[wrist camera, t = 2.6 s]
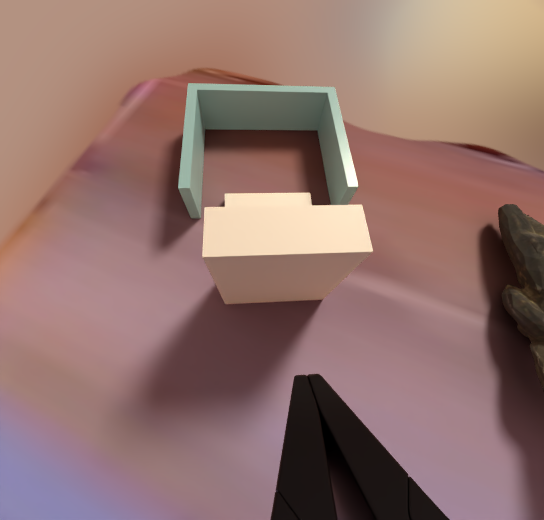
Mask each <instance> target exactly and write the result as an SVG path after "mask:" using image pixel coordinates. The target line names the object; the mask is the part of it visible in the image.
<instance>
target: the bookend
mask: <svg viewBox="0 0 544 520" xmlns="http://www.w3.org/2000/svg"><path fill="white" fill-rule="evenodd" d="M372 252H373V249H372V245H371V241H370V236H369V232H368V228H367V224H366V220H365V215H364V211H363V207H362V205H313V206H312V202H311V195H310V193H243V194H225V207H205V212H204V234H203V256H202V257H203V259H204V261H205V263H206V265H207V268H208V270H209V272H210V274H211V276H212V278H213V280H214V282H215V284H216V286H217V288H218V290H219V292H220V295H221V297H222V299H223V301H224V303H225V304H241V303H262V302H283V301H304V300H323V299H324V298H325V297H326V296H327V295H328V294H329V293H330V292H331V291H332V290H333V289H334V288H335V287H337V286H338V285H339V284H340V283H341V282H342V281H343V280H344V279H345V278H346V277H347V276H348V275H349V274H350V273H351V272H352V271H353V270H354V269H355V268H356V267H357V266H359V265H360V264H361V263H362V262H363V261H364V260H365V259H366V258H367V257H368V256H369V255H370V254H371V253H372Z"/></svg>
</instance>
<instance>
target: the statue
mask: <svg viewBox="0 0 544 520" xmlns="http://www.w3.org/2000/svg"><path fill="white" fill-rule="evenodd" d="M498 217H499V228H500V232H501V236H502V239H503V243H504V245H505V248H506V250H507V252H508V255H509V257H510V259H511V261H512V263H513V265H514V267H515V270H516V274H517V279H518V282H519V283H520V285H521V287H522V288H523V289H519V288H517V287H515V286H513V285H506V287H505V289H504V291H503V293H502V302H503V305H504V307H505V309H506V310H507V312H508V313H509V314H510V315H511V316H512V317H513V318H514V319H515V320H516V322H517V323H518V326H517V329H518V330H519V331H520V332H521V333H522V334H523V335H524V336H525V337H528V338H529V339H530V341H531V342H532V343H531V344H530V349H531V352H532V355H533V358H534V362H535V369H536V373H537V375H538V378H539V380H540V383H541V385H542V388H543V390H544V225H542V224H541V223H539V222H538V221H536V220H534V219H533V218H532V217H529V215H526V214H523V212H522V211H521V210H520V209H519V208H518V206H517V205H514V204H506V205H504V206H502V207H500V208H499V210H498Z"/></svg>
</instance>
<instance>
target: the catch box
mask: <svg viewBox="0 0 544 520" xmlns="http://www.w3.org/2000/svg"><path fill="white" fill-rule="evenodd" d="M205 129H223V130H317V131H318V137H319V142H320V148H321V153H322V159H323V164H324V170H325V176H326V181H327V187H328V192H329V198H330V203H331V205H348V204H349V202H350V200H351V198H352V197H353V195H354V193H355V192H356V190H357V188H358V182H357V178H356V174H355V170H354V166H353V161H352V157H351V153H350V149H349V145H348V141H347V136H346V132H345V128H344V124H343V120H342V115H341V111H340V107H339V103H338V99H337V94H336V90H335V87H313V86H312V87H311V86H273V85H234V84H195V83H188V90H187V101H186V111H185V121H184V132H183V142H182V153H181V163H180V173H179V184H178V189H179V191H180V194H181V196H182V198H183V201H184V203H185V205H186V208H187V210H188V212H189V215H190V217H191V218H201V202H202V183H203V163H204V144H205Z"/></svg>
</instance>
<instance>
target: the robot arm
mask: <svg viewBox="0 0 544 520" xmlns="http://www.w3.org/2000/svg"><path fill="white" fill-rule="evenodd" d="M271 520H449V519H448V518H447V517H446V516H445V514H444V513H443V512H442V511H441V510H440V509H439V508H438V507H437V506H436V505H435V504H434V502H433V501H432V500H431V499H430V498H429V497H428V496H427V495H426V494H425V493H424V492H423V490H422V489H421V488H420V487H419V486H418V485H417V484H416V482H415V481H414V480H413V479H412V478H411V477H408V474H407V472H406V471H405V470H404V469H403V468H402V467H401V466H400V464H399V463H398V462H397V461H396V460H395V459H394V458H393V457H392V455H391V454H390V453H389V452H388V451H387V450H386V449H385V447H384V446H383V445H382V444H381V443H380V442H379V441H378V440H377V438H376V437H375V436H374V435H373V434H372V433H371V432H370V431H369V429H368V428H367V427H366V426H365V425H364V424H363V423H362V421H361V420H360V419H359V418H358V417H357V416H356V415H355V414H354V412H353V411H352V410H351V409H350V408H349V407H348V406H347V404H346V403H345V402H344V401H343V400H342V399H341V398H340V397H339V395H338V394H337V393H336V392H335V391H334V390H333V389H332V387H331V386H330V385H329V384H328V383H327V382H326V381H325V380H324V378H323V377H322V376H321V375H320V374H309V375H307V376H306V375H296V376H295V377H294V381H293V388H292V394H291V400H290V406H289V412H288V418H287V424H286V430H285V437H284V443H283V449H282V455H281V461H280V467H279V473H278V479H277V486H276V492H275V497H274V503H273V509H272V515H271Z"/></svg>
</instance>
